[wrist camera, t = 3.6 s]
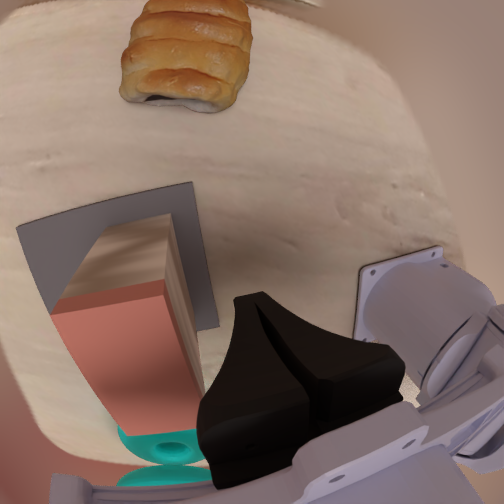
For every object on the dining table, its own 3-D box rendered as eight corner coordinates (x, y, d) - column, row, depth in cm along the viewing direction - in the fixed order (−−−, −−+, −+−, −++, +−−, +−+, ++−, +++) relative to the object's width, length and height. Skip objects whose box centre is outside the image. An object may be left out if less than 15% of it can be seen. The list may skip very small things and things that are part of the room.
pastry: (152, -25, 10) (149, -56, 7) (260, -13, 12) (279, -40, 9) (120, 108, 14) (104, 102, 10) (236, 117, 16) (252, 113, 12)
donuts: (150, 527, 16) (90, 496, 12) (145, 450, 25) (100, 399, 21) (252, 515, 18) (225, 488, 13) (230, 435, 27) (204, 380, 22)
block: (170, 213, 16) (163, 294, 8) (194, 313, 19) (211, 425, 11) (106, 227, 16) (49, 315, 7) (138, 324, 18) (127, 436, 10)
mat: (191, 181, 16) (192, 182, 16) (219, 323, 20) (219, 326, 20) (18, 225, 14) (15, 227, 14) (70, 347, 18) (69, 351, 18)
